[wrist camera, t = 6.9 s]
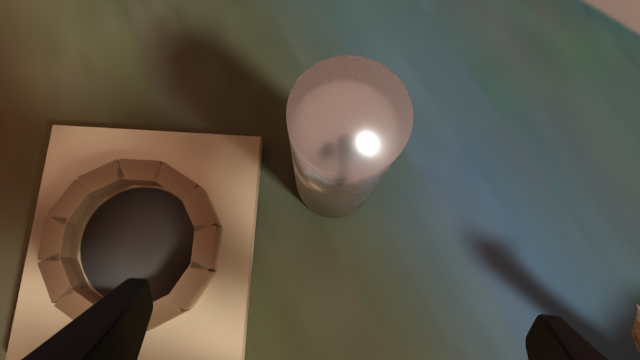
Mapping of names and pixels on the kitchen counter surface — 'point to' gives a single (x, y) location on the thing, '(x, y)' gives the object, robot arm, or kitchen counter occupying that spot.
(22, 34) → the kitchen counter surface
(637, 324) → the pine cone
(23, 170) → the kitchen counter surface
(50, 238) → the board
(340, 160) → the billet
